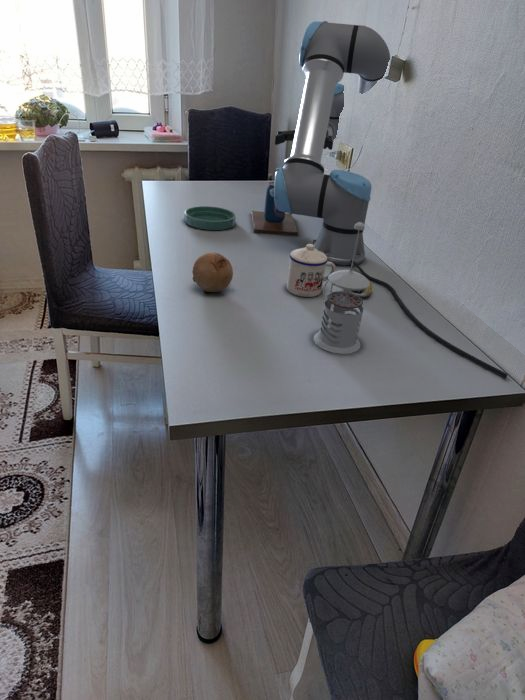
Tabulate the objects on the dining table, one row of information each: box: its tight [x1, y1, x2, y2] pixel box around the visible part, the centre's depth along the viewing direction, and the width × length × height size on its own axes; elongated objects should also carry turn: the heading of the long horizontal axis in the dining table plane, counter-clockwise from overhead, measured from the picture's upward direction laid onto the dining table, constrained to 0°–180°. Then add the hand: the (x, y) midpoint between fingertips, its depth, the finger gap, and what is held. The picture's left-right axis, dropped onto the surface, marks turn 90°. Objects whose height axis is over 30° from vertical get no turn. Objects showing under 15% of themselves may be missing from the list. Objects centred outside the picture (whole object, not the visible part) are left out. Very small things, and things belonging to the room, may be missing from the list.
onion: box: [191, 252, 234, 293], centre depth 117 cm, size 10×9×10 cm
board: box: [250, 210, 299, 237], centre depth 167 cm, size 20×14×1 cm
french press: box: [313, 222, 371, 355], centre depth 97 cm, size 10×12×25 cm
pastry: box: [343, 280, 373, 298], centre depth 125 cm, size 9×7×4 cm
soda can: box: [263, 181, 286, 224], centre depth 163 cm, size 7×7×12 cm
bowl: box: [184, 205, 236, 231], centre depth 161 cm, size 16×16×3 cm
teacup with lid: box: [286, 243, 336, 298], centre depth 121 cm, size 12×9×12 cm
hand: (295, 143), depth 162 cm, fingers open, 13 cm apart
